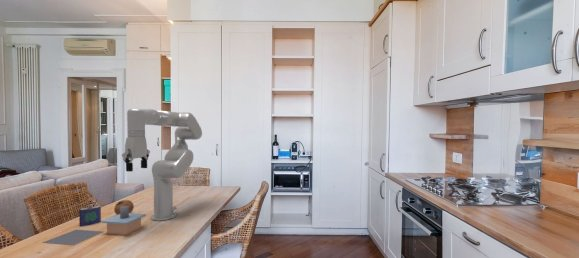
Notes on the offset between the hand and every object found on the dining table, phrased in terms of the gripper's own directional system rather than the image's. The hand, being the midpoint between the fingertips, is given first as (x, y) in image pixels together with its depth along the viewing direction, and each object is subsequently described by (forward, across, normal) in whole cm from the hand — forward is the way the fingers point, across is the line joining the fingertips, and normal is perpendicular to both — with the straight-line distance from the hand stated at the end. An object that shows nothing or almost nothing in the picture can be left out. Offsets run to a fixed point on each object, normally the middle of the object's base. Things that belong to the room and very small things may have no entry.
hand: (137, 169), depth 138 cm
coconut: (+30, -18, -24) cm, 42 cm away
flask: (+30, -1, -28) cm, 41 cm away
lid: (+23, +4, -4) cm, 24 cm away
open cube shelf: (+29, +4, -4) cm, 30 cm away
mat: (+29, +15, -20) cm, 38 cm away
